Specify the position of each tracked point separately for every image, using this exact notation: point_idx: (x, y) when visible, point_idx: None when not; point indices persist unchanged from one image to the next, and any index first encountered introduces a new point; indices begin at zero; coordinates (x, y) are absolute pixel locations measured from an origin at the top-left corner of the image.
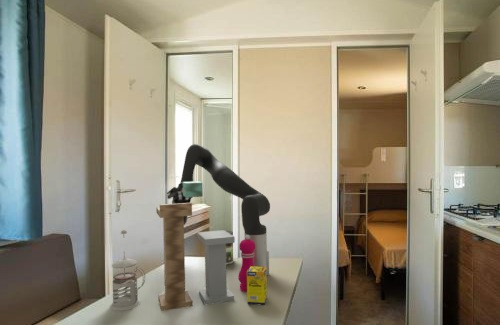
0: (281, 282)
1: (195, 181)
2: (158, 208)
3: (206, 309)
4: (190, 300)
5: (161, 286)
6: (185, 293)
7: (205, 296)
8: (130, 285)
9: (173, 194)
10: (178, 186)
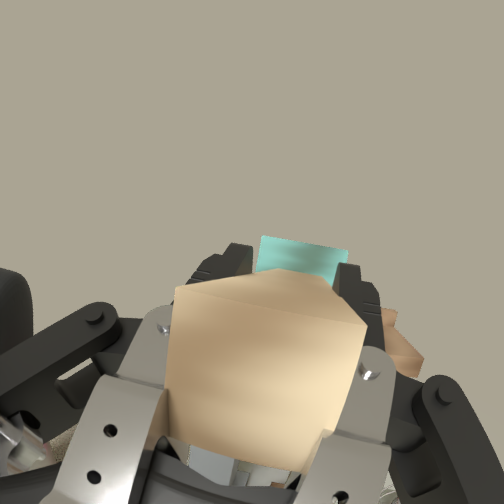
0: (66, 434)
1: (281, 239)
2: (407, 342)
3: (255, 466)
4: (273, 486)
5: None
6: None
7: (239, 484)
8: (397, 499)
9: (410, 476)
10: (377, 327)
